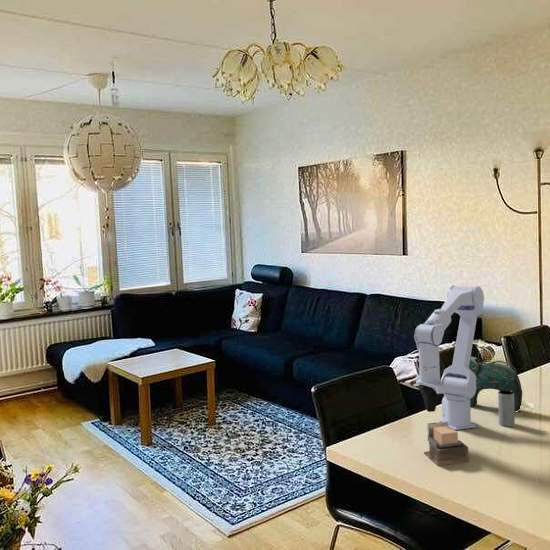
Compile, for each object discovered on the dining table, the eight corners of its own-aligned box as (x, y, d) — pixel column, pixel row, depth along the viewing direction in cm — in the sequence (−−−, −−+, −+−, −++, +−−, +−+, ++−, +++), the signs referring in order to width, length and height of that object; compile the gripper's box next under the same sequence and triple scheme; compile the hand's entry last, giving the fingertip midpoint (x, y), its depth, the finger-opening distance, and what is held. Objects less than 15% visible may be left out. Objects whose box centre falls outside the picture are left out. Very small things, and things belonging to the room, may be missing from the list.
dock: (424, 453, 164) (423, 439, 164) (454, 449, 166) (453, 435, 165) (437, 465, 156) (437, 450, 155) (468, 461, 157) (468, 446, 157)
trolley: (427, 444, 165) (427, 423, 164) (447, 442, 166) (447, 421, 165) (440, 455, 157) (439, 433, 156) (461, 453, 158) (460, 430, 157)
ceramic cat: (459, 406, 202) (457, 349, 200) (464, 401, 208) (463, 345, 206) (520, 414, 191) (519, 354, 189) (524, 408, 196) (523, 350, 195)
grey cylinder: (514, 422, 184) (514, 390, 183) (514, 427, 180) (513, 394, 179) (499, 421, 186) (498, 389, 185) (498, 426, 182) (497, 393, 181)
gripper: (406, 361, 177) (408, 404, 178) (426, 372, 162) (428, 420, 164) (428, 358, 178) (430, 402, 179) (450, 370, 163) (452, 417, 165)
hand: (430, 410), depth 171 cm, fingers closed
